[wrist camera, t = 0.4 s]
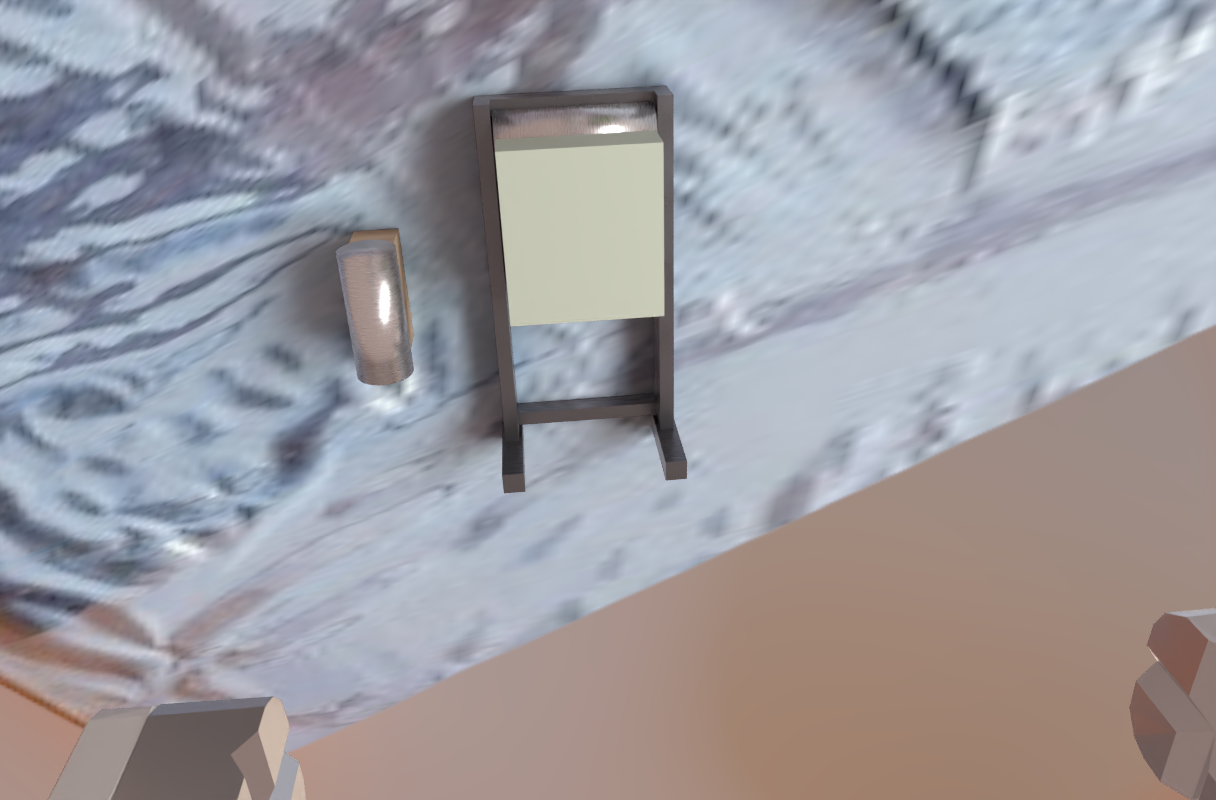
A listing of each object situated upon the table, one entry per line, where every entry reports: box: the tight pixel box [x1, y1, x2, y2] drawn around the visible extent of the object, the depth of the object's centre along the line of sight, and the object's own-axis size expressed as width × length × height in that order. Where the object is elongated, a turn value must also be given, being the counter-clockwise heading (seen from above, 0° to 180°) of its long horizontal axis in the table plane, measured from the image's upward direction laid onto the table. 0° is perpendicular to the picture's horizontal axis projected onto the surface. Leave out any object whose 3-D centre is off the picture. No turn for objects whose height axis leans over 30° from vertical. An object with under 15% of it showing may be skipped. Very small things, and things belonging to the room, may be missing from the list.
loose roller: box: [336, 240, 414, 385], centre depth 50 cm, size 7×3×3 cm, turn 2°
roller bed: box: [473, 86, 687, 493], centre depth 52 cm, size 21×10×6 cm, turn 2°
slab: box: [495, 130, 664, 326], centre depth 49 cm, size 9×8×2 cm
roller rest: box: [349, 229, 414, 346], centre depth 53 cm, size 6×2×2 cm, turn 2°
